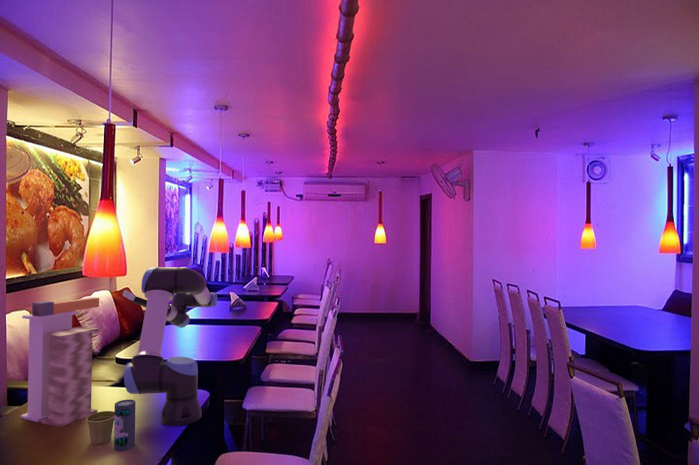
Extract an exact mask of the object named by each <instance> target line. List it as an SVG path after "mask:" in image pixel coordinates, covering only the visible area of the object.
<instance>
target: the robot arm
mask: <svg viewBox="0 0 699 465" xmlns="http://www.w3.org/2000/svg"><path fill="white" fill-rule="evenodd" d="M140 286H141V287H140V288H141V292H142V293H143V294H144V298H143V297H140V296H136V294H134V293H133V292H131V291H128V290H127V289H124V291H123V293H122V296H123V297H124V298H127V299H128V300H129V302H130V303H133V304H135V305H139V306H141V307H144V308H145V311H144V315H143V316H144V318H143V324H142V328H141V333H140V339H139V345H138V350H137V353H136V354H134V356H133V357H132V360H131V362H127V363H126V364H125V367H124V372H123V373H124V374H123V379H124V380H123V381H124V388H125V390H126V391H127V393H129V394H130V395H131V394H132V395H145V394H146V395H147V394H150V395H151V394H165V402H164V405H163V408H162V411H161V414H160V422H161V424H163V425H165V426H171V427H177V426H186V425H190V424H193V423H196V422H197V421H199V420H201V419H202V417H203V415H202V413H203V412H202V408H201V404H200V401H199V398H198V378H199V376H198V374H199V371H198V368H199V367H198V362H197V361H196V360H195V359H193V358H190V357H186V356H172V357H168V358H167V359H166V360H165V358H164V357H163V356H162V355H161V354H162V348H163V341H164V335H165V328H166V322H169V323H170V324H171V325H173V326H174V327H177V328H180V329H183V328H185V327H186V326H188V324H189V323H190V320H191V318H190V316H189V314H188V313H187V309H188V308H214V307H216V306H217V304H218V295H217V293H216V292H210V291H209V289H208V287H207V280H206V278H205V277H204V276H203V275H202V274H201V273H200V272H198V271H196V270H194V269H192V268H189V267H185V266H184V267H183V266H180V267H177V266H175V267H172V266H170V267H169V266H168V267H167V266H164V267H161V266H156V267H155V266H154V267H150V268H147V269H146V270H145V272H144V273H143V275H142V279H141V285H140ZM170 301H172V302H171V304H170V303H169V302H170Z"/></svg>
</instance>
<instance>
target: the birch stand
mask: <svg viewBox="0 0 699 465" xmlns="http://www.w3.org/2000/svg"><path fill="white" fill-rule="evenodd" d="M95 332H100V328H97V327H90V326H83V325H80V326H76V327H72V328H70V329H65V330H60V331H55V332H49V333H44V334H43V337H50V340H49V397H48V418H46V419H43V420H41V421H40V422H41V424H43V425H44V424H45V425H47V426H51V427H56V428H61V427H64V426H66V425H69V424H71V423H74V422H76V421H79V420H81V419H84V418H87V417H88V416H89V415H91V414H94V413H97V412H98V409H97V408H92V385H93V384H92V380H93V378H92V377H93V376H92V375H93V333H95Z"/></svg>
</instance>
